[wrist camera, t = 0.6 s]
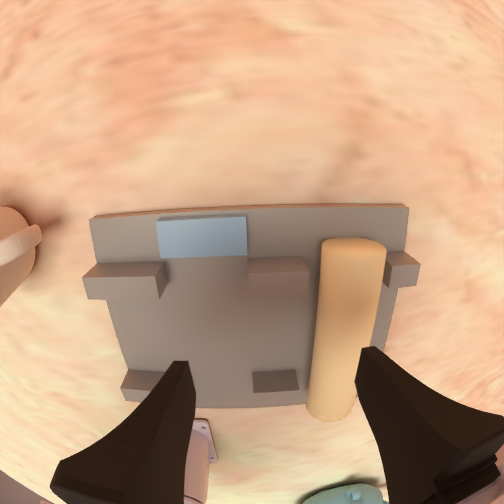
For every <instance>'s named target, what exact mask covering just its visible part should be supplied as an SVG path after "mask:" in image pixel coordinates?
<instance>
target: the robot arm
mask: <svg viewBox="0 0 504 504" xmlns="http://www.w3.org/2000/svg"><path fill="white" fill-rule="evenodd" d="M354 382H355V386H356V390H357V394H358V397H359V401H360V403H361V406H362V408H363V411H364V413H365V415H366V418H367V420H368V422H369V425H370V427H371V430H372V432H373V434H374V437H375V439H376V442H377V445H378V448H379V452H380V456H381V460H382V464H383V468H384V473H385V478H386V483H387V490H388V496H389V504H504V462H502V463H501V464H500V465H499V466H498V467H497V466H496V464H495V462H496V461H497V457H496V455H495V453H496V452H497V451H498V450H499V449H500V448H501V447H502V445H503V444H504V417H503V416H502V415H497V414H492V413H488V412H483V411H480V410H477V409H474V408H470V407H468V406H465V405H462V404H460V403H458V402H456V401H453V400H451V399H449V398H447V397H445V396H443V395H441V394H439V393H438V392H436V391H434V390H432V389H431V388H429V387H427V386H426V385H424V384H423V383H422V382H420V381H419V380H417V379H416V378H414V377H413V376H412V375H410V374H409V373H408V372H406V371H405V370H404V369H403V368H401V367H400V366H399V365H398V364H396V363H395V362H394V361H393V360H391V359H390V358H389V357H388V356H387V355H385V354H384V353H383V352H382V351H381V350H379V349H378V348H377V347H376V346H370V347H364V348H362V349H361V354H360V359H359V363H358V368H357V372H356V376H355V380H354ZM195 408H196V390H195V386H194V382H193V378H192V374H191V370H190V366H189V362H188V361H173V362H172V363H171V365H170V366H169V368H168V369H167V370H166V372H165V373H164V375H163V376H162V377H161V379H160V380H159V381H158V383H157V384H156V385H155V387H154V388H153V389H152V390H151V392H150V393H149V394H148V395H147V397H146V398H145V399H144V400H143V401H142V402H141V403H140V405H139V406H138V407H137V408H136V409H135V410H134V411H133V412H132V413H131V414H130V415H129V416H128V417H127V418H126V419H125V420H124V421H123V422H122V423H121V424H119V425H118V426H117V427H116V428H115V429H113V430H112V431H111V432H110V433H108V434H107V435H106V436H104V437H103V438H102V439H100V440H99V441H97V442H95V443H94V444H92V445H91V446H89V447H87V448H86V449H84V450H82V451H80V452H78V453H76V454H74V455H72V456H70V457H68V458H66V459H63V460H61V461H60V462H59V464H58V466H57V468H56V471H55V473H54V476H53V478H52V481H51V484H50V489H51V490H52V492H53V493H54V494H56V495H57V496H58V497H59V498H61V499H62V500H63V501H64V502H66V503H67V504H205V503H206V500H207V490H208V476H209V463H217V462H218V459H217V455H216V451H215V448H214V444H213V440H212V436H211V432H210V428H209V424H208V422H207V421H205V420H194V417H195ZM40 504H50V503H48V502H46V501H44V500H41V501H40Z"/></svg>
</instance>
